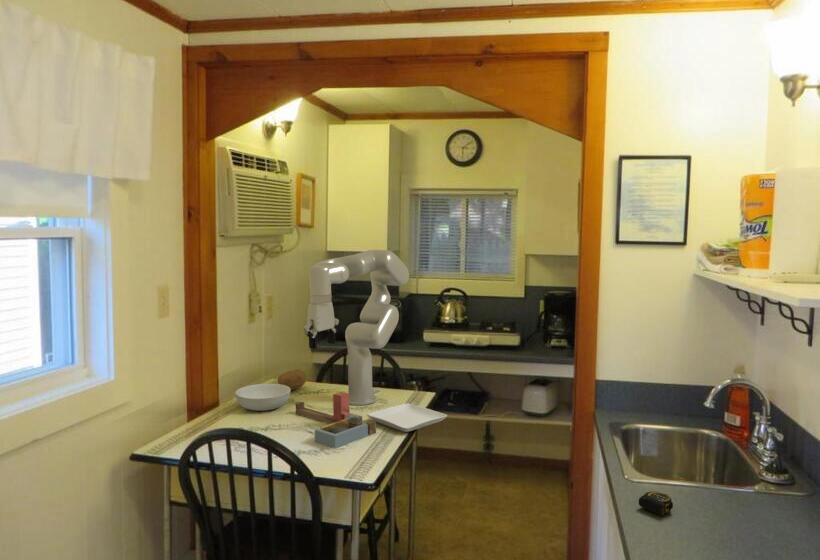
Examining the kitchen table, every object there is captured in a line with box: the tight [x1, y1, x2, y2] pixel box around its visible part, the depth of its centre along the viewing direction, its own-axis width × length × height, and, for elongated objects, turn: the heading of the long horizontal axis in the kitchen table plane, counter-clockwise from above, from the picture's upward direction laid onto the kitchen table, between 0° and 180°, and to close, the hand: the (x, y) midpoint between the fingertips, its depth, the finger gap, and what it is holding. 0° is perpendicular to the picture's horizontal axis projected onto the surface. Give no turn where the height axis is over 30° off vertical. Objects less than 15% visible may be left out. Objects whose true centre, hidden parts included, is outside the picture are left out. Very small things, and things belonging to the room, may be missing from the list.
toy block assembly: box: [319, 391, 363, 433], centre depth 217 cm, size 17×11×11 cm, turn 140°
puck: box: [331, 427, 349, 434], centre depth 211 cm, size 6×6×3 cm
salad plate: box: [366, 402, 448, 433], centre depth 228 cm, size 21×21×3 cm
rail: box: [295, 401, 377, 436], centre depth 227 cm, size 3×38×4 cm, turn 50°
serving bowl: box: [234, 383, 292, 412], centre depth 246 cm, size 21×21×7 cm
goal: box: [314, 423, 369, 449], centre depth 210 cm, size 15×10×4 cm, turn 140°
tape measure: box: [638, 491, 674, 516], centre depth 158 cm, size 7×7×4 cm
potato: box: [277, 368, 307, 391], centre depth 272 cm, size 10×14×8 cm
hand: (322, 345), depth 232 cm, fingers open, 9 cm apart
